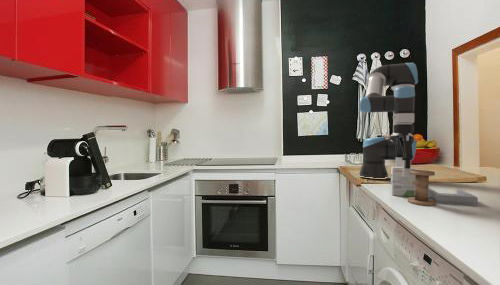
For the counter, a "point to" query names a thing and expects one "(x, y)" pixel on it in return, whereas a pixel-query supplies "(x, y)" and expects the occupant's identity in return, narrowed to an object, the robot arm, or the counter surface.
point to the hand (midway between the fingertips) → (402, 174)
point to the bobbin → (421, 188)
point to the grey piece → (453, 197)
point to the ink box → (402, 183)
